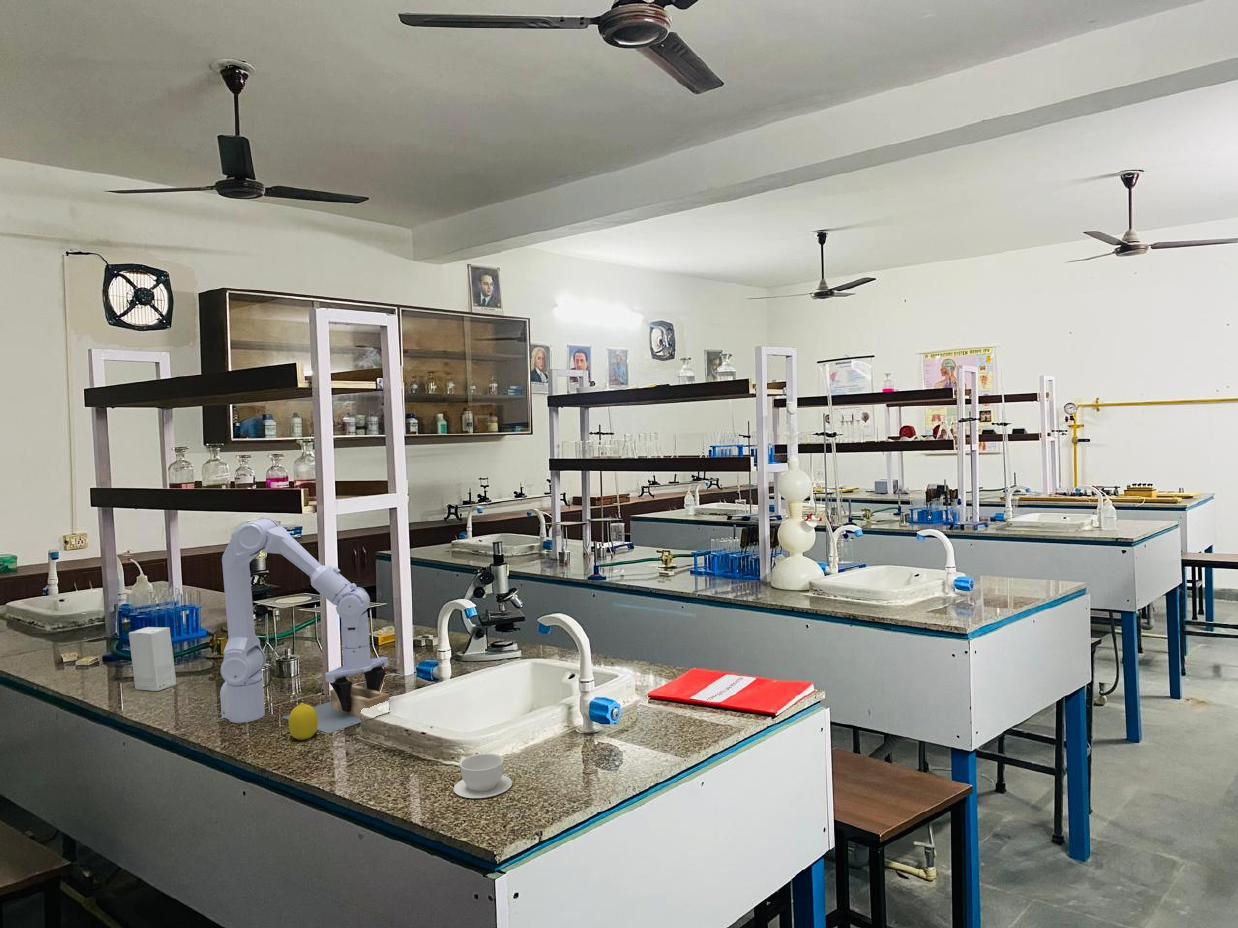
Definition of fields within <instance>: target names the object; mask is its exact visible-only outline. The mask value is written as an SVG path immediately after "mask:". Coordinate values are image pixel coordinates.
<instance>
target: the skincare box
mask: <svg viewBox="0 0 1238 928" xmlns="http://www.w3.org/2000/svg"><path fill="white" fill-rule="evenodd" d="M171 635H172V634H171V628H170V627H169V626H168V627H167V626H166V627H165V626H164V627H162V626H161V627H159V626H158V627H157V626H156V627H155V626H147V627H143V628H140V629H136V630H132V631H130V632H128V640H129V646H130V655H131V664H132V672H133V682H134V687H135V688H134V689H135V690H139V691H140V690H142V691H152V692H160V691H161V690H165V689H169V688H172V687H175V686H176V685H177V678H176V669H175V661H174V652H173V651H174V650H173V645H172V637H171Z"/></svg>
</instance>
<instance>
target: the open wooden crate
mask: <svg viewBox="0 0 1238 928" xmlns="http://www.w3.org/2000/svg"><path fill="white" fill-rule="evenodd" d="M329 694H330V695H329V696H330V702H331V708H332V709H335V710H338V711H341V712H345V711H343V710H342V707H341V704H340V701H339V698H338V696H337V694H336V692H335V690H334V689H331V690H329ZM350 698H351V711H350V712H345V713H348V714H351V715H354V716H358V717H360V712H361V710H362V709H363V708H370V707H372V706H374V705H377V704H379V703H383V702H385V701H388V700H390V694H389V693H386V692H383V691H382V692H381V691H380V690H379V691H375V690H371V689H368V688H367V687H363V686H360V685H356V684H353V683H352V687H351V696H350Z"/></svg>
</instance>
